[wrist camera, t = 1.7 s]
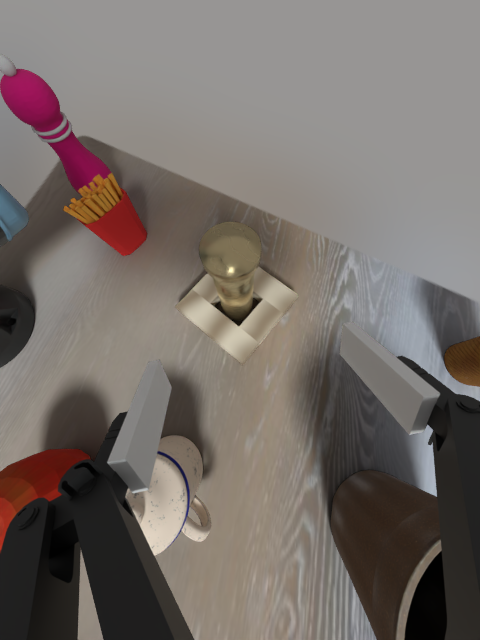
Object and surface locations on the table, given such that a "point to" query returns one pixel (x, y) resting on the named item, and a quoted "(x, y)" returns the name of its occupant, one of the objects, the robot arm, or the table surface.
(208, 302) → the socket block
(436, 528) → the plant pot
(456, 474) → the robot arm
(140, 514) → the teacup with lid
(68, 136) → the pepper mill
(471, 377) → the disposable coffee cup
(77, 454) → the apple
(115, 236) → the french fries
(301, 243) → the table surface
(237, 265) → the gold stepped cylinder
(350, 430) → the table surface
